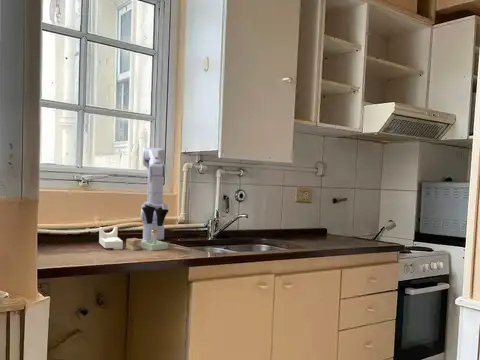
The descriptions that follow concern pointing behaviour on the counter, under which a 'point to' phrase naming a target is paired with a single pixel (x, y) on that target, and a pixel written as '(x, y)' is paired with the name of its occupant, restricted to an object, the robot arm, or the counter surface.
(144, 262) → the counter surface
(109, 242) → the bracket
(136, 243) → the chock
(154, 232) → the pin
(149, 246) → the tray
